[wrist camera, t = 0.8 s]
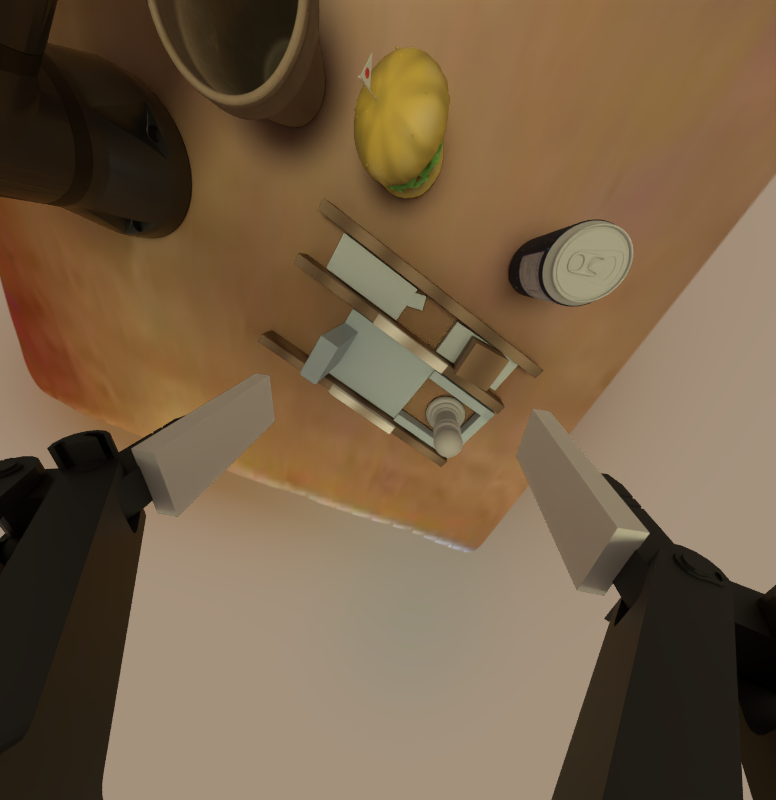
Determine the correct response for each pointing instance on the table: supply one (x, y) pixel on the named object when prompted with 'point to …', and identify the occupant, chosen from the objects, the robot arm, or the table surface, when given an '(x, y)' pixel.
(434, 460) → the lane rails
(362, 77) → the hamburger
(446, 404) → the chess piece
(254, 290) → the table surface
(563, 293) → the beverage can
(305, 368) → the pale grey slab
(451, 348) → the broken strip
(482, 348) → the walnut cube
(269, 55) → the flower pot
